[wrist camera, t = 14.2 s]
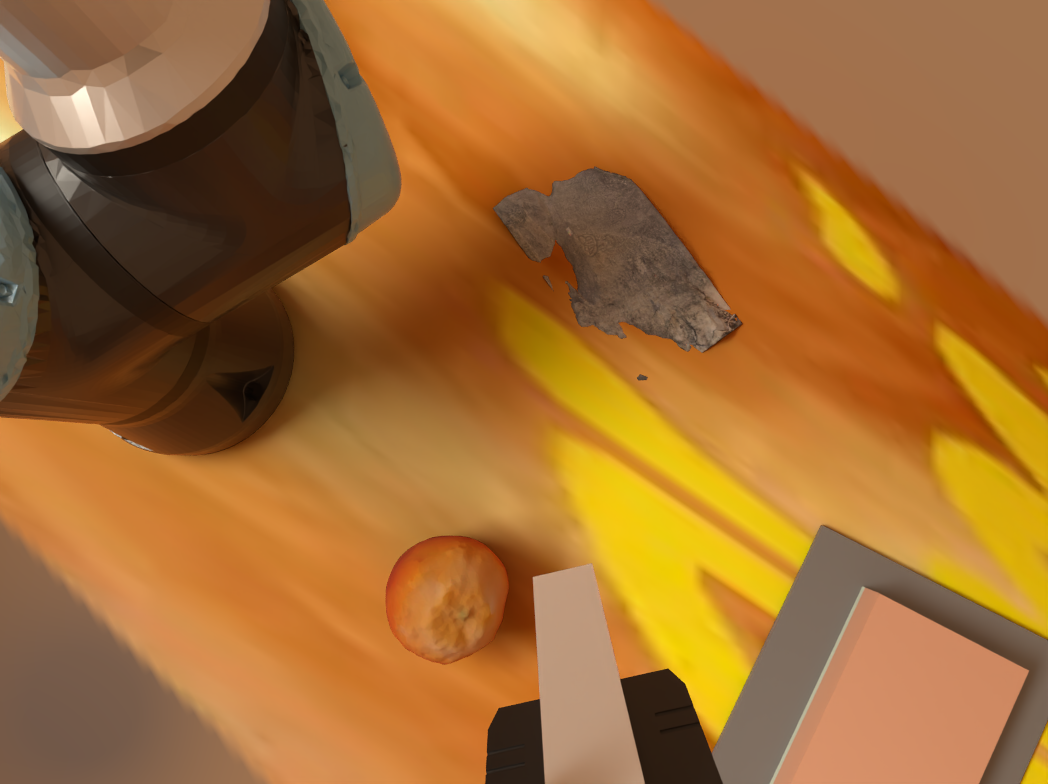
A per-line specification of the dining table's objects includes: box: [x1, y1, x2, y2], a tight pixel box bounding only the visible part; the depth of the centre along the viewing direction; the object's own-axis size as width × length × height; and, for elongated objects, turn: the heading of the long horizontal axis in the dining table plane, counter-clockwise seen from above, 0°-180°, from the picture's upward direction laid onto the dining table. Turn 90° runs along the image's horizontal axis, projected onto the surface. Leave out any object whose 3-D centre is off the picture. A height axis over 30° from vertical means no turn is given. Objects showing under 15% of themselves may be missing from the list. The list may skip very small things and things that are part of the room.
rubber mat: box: [712, 525, 1048, 784], centre depth 43 cm, size 24×18×1 cm
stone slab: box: [493, 166, 742, 380], centre depth 48 cm, size 18×2×10 cm
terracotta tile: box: [770, 586, 1029, 784], centre depth 42 cm, size 2×10×16 cm
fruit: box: [386, 536, 509, 664], centre depth 43 cm, size 8×8×8 cm
